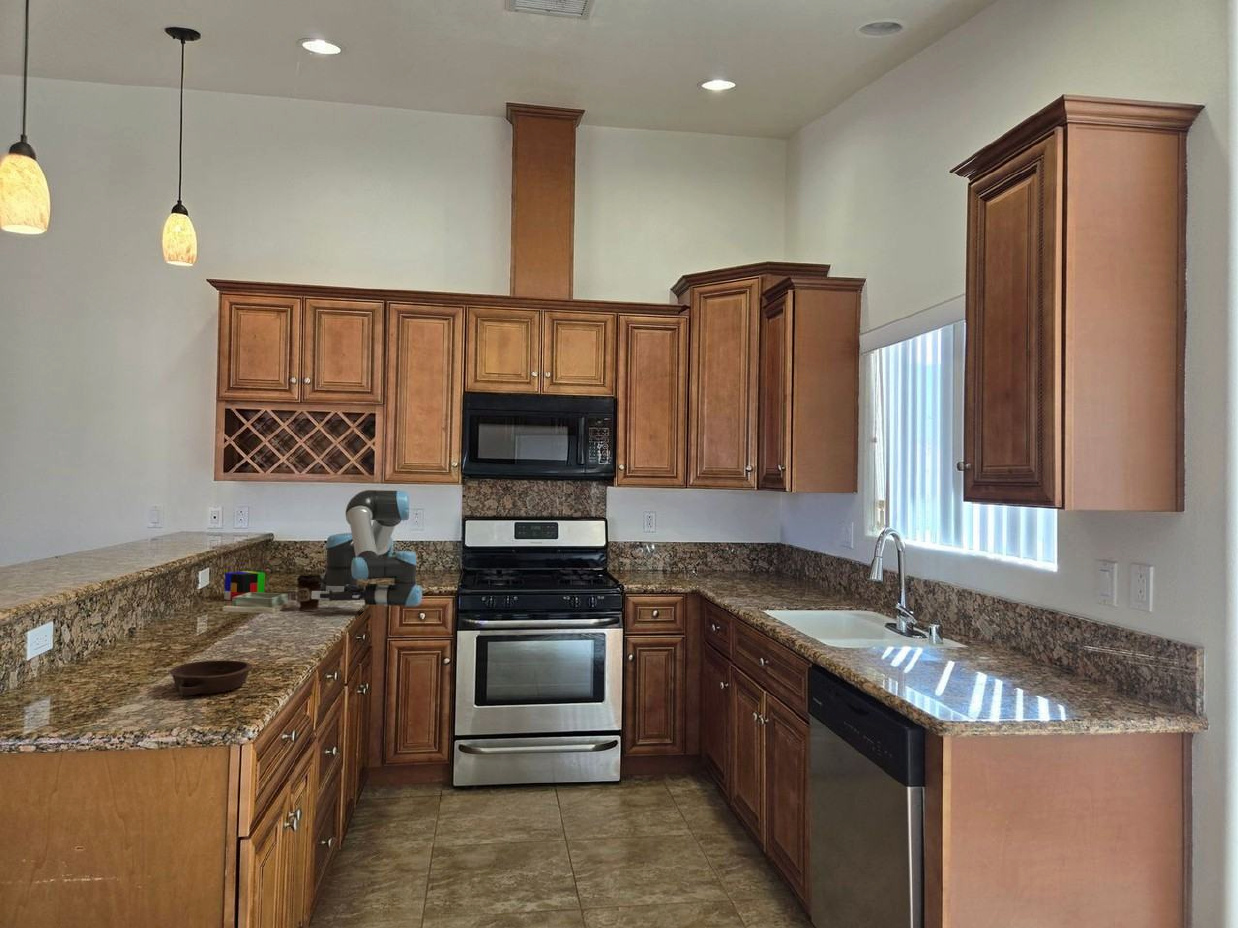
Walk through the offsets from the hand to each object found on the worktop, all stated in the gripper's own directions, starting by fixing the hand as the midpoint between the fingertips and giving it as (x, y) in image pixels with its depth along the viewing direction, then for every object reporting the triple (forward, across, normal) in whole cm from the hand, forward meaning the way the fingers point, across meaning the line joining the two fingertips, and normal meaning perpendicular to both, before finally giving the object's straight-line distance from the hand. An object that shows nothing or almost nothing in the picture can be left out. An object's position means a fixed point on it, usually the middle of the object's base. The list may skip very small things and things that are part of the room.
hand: (319, 592), depth 316 cm
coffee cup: (+4, +1, -7) cm, 8 cm away
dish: (-16, -109, -7) cm, 111 cm away
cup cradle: (+22, +2, -7) cm, 23 cm away
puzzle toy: (+37, +21, -7) cm, 43 cm away
